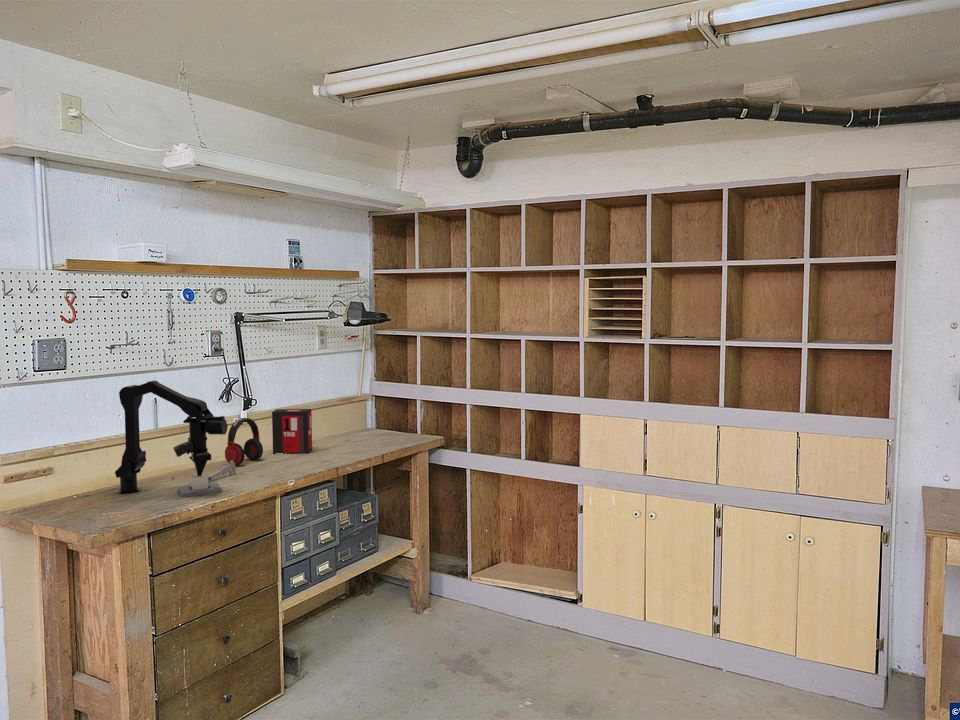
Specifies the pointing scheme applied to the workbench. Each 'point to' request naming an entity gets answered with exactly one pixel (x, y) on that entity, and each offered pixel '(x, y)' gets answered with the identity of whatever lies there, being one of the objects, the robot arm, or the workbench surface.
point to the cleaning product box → (292, 431)
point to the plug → (199, 481)
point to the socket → (187, 492)
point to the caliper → (225, 470)
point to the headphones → (251, 446)
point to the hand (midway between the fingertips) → (199, 475)
